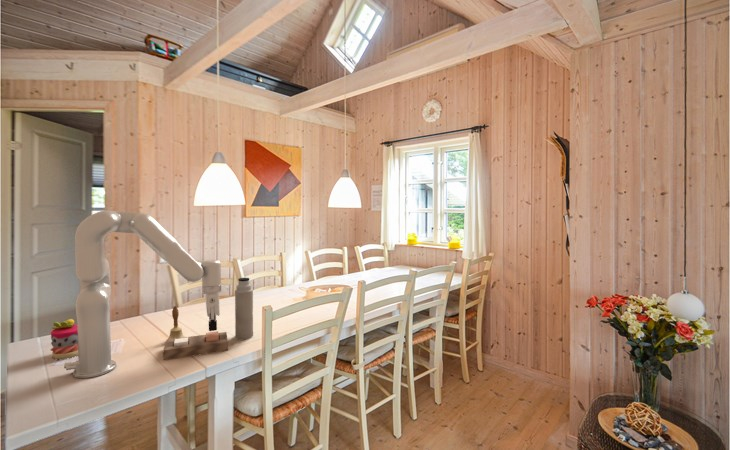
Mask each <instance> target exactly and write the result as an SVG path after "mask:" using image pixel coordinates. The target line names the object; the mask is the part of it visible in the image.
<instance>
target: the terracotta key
mask: <svg viewBox="0 0 730 450" xmlns="http://www.w3.org/2000/svg"><path fill="white" fill-rule="evenodd" d="M218 333H219V330H218V331H217V330H215V331H209V332H208V331H207V332H205V335H206V342H208V341H215V340H219V334H218Z"/></svg>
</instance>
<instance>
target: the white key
mask: <svg viewBox="0 0 730 450" xmlns="http://www.w3.org/2000/svg"><path fill="white" fill-rule="evenodd" d="M186 337H187V338H179V339H175V341H174V346H179V345H186V344H188V337H189V336H186Z"/></svg>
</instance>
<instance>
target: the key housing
mask: <svg viewBox="0 0 730 450" xmlns="http://www.w3.org/2000/svg"><path fill="white" fill-rule="evenodd" d="M218 334H219V340H215V341H208V342H206V334H201V335H192V336H185V337H183V338H187V337H188V344H186V345H179V346H174V341H175V339H168V338H167V339H168V340H167V339H166V341H165V343H164V347H163V351H162V355H163V356H162V357H163V361H167V360H173V359H180V358H186V357H194V356H199V354H201V355H206V353H208V354H212V353H213V352H214V353H219V352H220V351H221V352H227V351H229V349H228V347H229V345H228V344H229V340H228V335H227V334H228V333H227V331H224V332H218ZM176 339H179V338H176ZM221 352H220V353H221ZM193 355H194V356H193Z"/></svg>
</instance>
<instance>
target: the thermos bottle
mask: <svg viewBox="0 0 730 450" xmlns="http://www.w3.org/2000/svg"><path fill="white" fill-rule="evenodd" d="M253 313H254V290H253V287H252V284H250V278H249V277H239V278H238V284H237V285H236V289H235V291H234V314H235V315H234V316H235V317H234V318H235V319H234V320H235V323H234V324H235V325H234V327H235V333H234V334H235V336H234V338H236V340H248V339H251V338H253V336H254V314H253Z"/></svg>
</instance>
